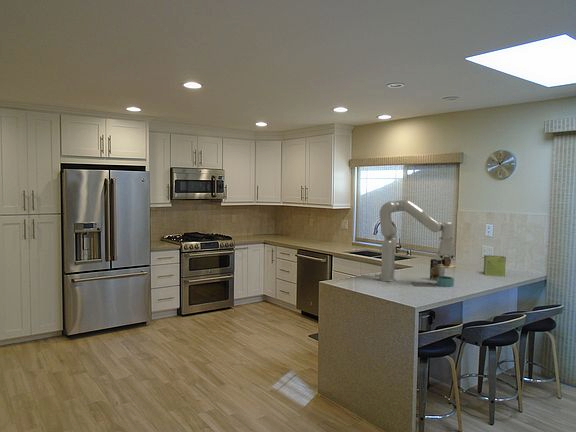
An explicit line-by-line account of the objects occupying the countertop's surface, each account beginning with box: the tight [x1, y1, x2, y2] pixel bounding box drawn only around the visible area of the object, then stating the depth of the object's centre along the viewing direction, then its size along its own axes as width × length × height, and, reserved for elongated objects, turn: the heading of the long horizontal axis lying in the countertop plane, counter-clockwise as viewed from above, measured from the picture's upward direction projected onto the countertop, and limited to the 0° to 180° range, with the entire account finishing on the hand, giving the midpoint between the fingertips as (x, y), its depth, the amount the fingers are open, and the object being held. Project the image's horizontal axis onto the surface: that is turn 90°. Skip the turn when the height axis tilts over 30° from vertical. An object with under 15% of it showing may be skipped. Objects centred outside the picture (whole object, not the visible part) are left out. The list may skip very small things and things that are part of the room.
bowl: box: [436, 275, 455, 288], centre depth 314 cm, size 11×11×6 cm
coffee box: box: [429, 258, 446, 282], centre depth 332 cm, size 9×6×16 cm
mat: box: [409, 281, 436, 288], centre depth 315 cm, size 15×15×1 cm
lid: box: [437, 256, 457, 269], centre depth 313 cm, size 13×13×7 cm
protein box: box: [483, 254, 507, 277], centre depth 360 cm, size 10×15×16 cm
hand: (446, 264), depth 313 cm, fingers closed on lid, 3 cm apart
